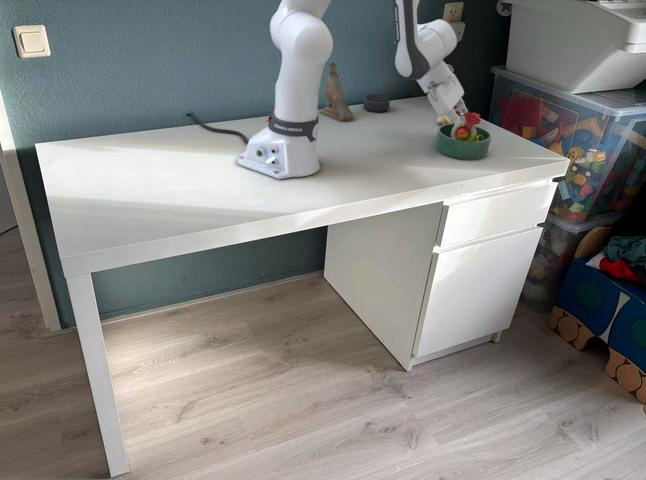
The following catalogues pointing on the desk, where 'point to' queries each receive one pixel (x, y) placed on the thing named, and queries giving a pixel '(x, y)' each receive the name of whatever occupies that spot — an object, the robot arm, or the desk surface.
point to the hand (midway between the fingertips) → (462, 118)
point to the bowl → (462, 144)
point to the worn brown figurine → (336, 98)
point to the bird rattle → (469, 124)
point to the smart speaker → (376, 103)
